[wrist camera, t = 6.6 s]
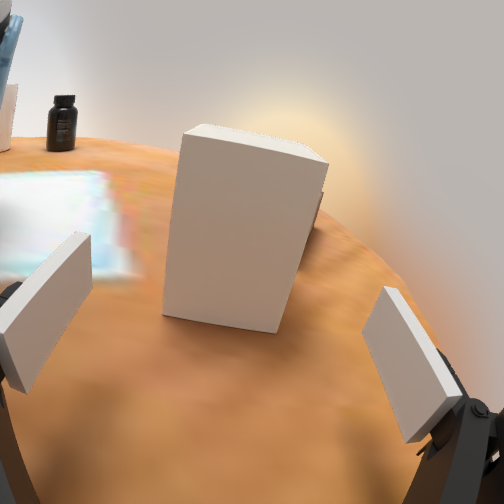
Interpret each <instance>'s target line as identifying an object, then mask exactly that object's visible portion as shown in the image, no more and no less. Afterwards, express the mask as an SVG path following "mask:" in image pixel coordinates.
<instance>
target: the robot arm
mask: <svg viewBox="0 0 504 504" xmlns="http://www.w3.org/2000/svg"><path fill="white" fill-rule="evenodd" d="M11 6H12V0H0V109H1V106H2V102H3V97H4V93H5V88H6V83H7V79H8V75H9V71H10V67H11V63H12V59H13V55H14V51H15V48H16V44H17V41H18V37H19V34H20V30H21V27H22V23H23V17H21V16H17V15H15V14H13V15H11V16H10V11H11ZM92 288H93V285H92V268H91V235H90V234H86V233H81V232H76V231H75V232H74V233H73V234H72V235H71V236H70V237H69V238H68V239H67V240H66V241H65V242H64V243H63V244H61V245H60V246H59V247H58V248H57V249H56V250H55V251H54V252H53V253H52V254H51V255H50V256H49V257H48V258H47V259H46V260H45V261H44V262H43V263H42V264H41V265H40V266H39V267H38V268H37V269H36V270H35V271H34V272H33V273H32V274H31V275H30V276H29V277H28V278H27V279H26V280H25V282H24V283H22V282H16V283H14V284H12V285H10V286H9V287H7V288H6V289H5V290H4V291H3V292H2V293H1V294H0V504H40V502H39V499H38V497H37V495H36V493H35V490H34V488H33V485H32V483H31V481H30V478H29V475H28V473H27V470H26V467H25V465H24V462H23V459H22V456H21V453H20V450H19V447H18V444H17V441H16V438H15V434H14V431H13V427H12V424H11V420H10V416H9V412H8V408H7V404H6V400H5V395H4V391H3V388H2V385H1V382H2V380H3V379H4V377H6V379H7V381H8V384H9V386H10V387H11V388H13V389H15V390H18V391H20V392H22V393H24V394H27V395H28V393H29V391H30V389H31V387H32V385H33V383H34V382H35V380H36V378H37V376H38V374H39V373H40V371H41V369H42V367H43V366H44V364H45V362H46V361H47V359H48V357H49V355H50V354H51V352H52V350H53V349H54V347H55V345H56V344H57V342H58V340H59V339H60V337H61V336H62V334H63V332H64V331H65V329H66V328H67V326H68V324H69V323H70V321H71V320H72V318H73V317H74V315H75V314H76V312H77V311H78V309H79V307H80V306H81V304H82V303H83V301H84V300H85V299H86V297H87V296H88V294H89V293H90V291H91V290H92ZM362 334H363V337H364V339H365V341H366V344H367V346H368V349H369V351H370V353H371V356H372V358H373V361H374V363H375V366H376V368H377V370H378V373H379V375H380V378H381V380H382V383H383V385H384V388H385V391H386V393H387V396H388V398H389V401H390V404H391V406H392V409H393V411H394V414H395V417H396V420H397V422H398V425H399V428H400V430H401V433H402V436H403V439H404V442H405V444H406V443H413V442H420V441H421V440H422V439H423V438H424V437H425V436H426V435H427V434H428V433H429V432H430V434H431V436H432V439H431V440H430V441H429V442H428V443H427V444H426V445H425V446H424V447H423V448H422V449H421V450H420V451H419V452H418V453H417V454H416V455H417V456H419V455H420V454H421V453H422V452H424V451H425V452H424V454H423V456H422V457H421V458H422V459H421V462H420V464H419V467H418V469H417V472H416V474H415V477H414V479H413V481H412V484H411V486H410V488H409V490H408V492H407V495H406V497H405V499H404V501H403V503H402V504H504V408H503V410H502V411H501V412H500V413H499V414H497V413H492V412H490V411H489V409H488V407H487V406H486V405H485V404H484V403H483V402H482V401H480V400H478V399H475V398H469V396H468V394H467V393H466V391H465V389H464V387H463V385H462V384H461V382H460V380H459V378H458V377H457V375H456V374H455V371H454V370H453V368H452V367H451V365H450V363H449V362H448V360H447V358H446V357H445V356H444V355H443V354H442V353H441V352H440V351H439V350H438V349H437V348H435V346H434V345H433V343H432V342H431V340H430V338H429V337H428V335H427V334H426V332H425V330H424V329H423V327H422V326H421V324H420V323H419V321H418V319H417V318H416V316H415V315H414V313H413V312H412V310H411V309H410V307H409V306H408V304H407V303H406V301H405V300H404V298H403V297H402V295H401V294H400V292H399V291H398V289H397V288H391V287H385V286H383V289H382V291H381V293H380V295H379V297H378V300H377V302H376V304H375V306H374V308H373V310H372V312H371V314H370V316H369V318H368V320H367V322H366V324H365V327H364V329H363V330H362ZM498 451H499V455H500V457H499V458H497V459H496V460H495V461H494V462H493V460H492V456H493V455H494V454H496V453H497V452H498Z"/></svg>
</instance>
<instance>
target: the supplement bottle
mask: <svg viewBox="0 0 504 504" xmlns="http://www.w3.org/2000/svg"><path fill="white" fill-rule="evenodd" d="M74 103H75V95H56V96H55V97H54V104H55V105H54V107H53V108H51V109H50V111H49V114H48V125H47V141H46V148H47V150H48V151H68V150H72V149H73V148H74V147H75V138H76V125H77V114H78V111H77V108H75V107H74V106H73V104H74Z"/></svg>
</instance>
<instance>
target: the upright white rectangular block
mask: <svg viewBox="0 0 504 504" xmlns="http://www.w3.org/2000/svg"><path fill="white" fill-rule="evenodd" d="M328 166H329V163H328V162H326V161H325V160H324V159H322V158H321V157H320V156H319V155H317V154H316V153H315V152H314V151H312V150H311V149H310V148H308V147H307V146H306V145H304V144H302V143H298V142H293V141H289V140H285V139H280V138H276V137H272V136H267V135H262V134H258V133H253V132H248V131H243V130H238V129H232V128H227V127H221V126H216V125H210V124H204V123H203V124H201V125H199V126H197V127H195V128H193V129H191V130H189V131H188V132H185V133H183V138H182V144H181V150H180V156H179V162H178V169H177V176H176V183H175V190H174V197H173V205H172V213H171V221H170V230H169V239H168V249H167V259H166V270H165V282H164V295H163V310H162V315H167V316H172V317H177V318H183V319H188V320H193V321H199V322H204V323H210V324H216V325H222V326H228V327H234V328H241V329H247V330H254V331H261V332H268V333H275V334H276V333H277V330H278V327H279V324H280V322H281V319H282V316H283V313H284V310H285V307H286V304H287V301H288V298H289V295H290V292H291V289H292V286H293V282H294V279H295V276H296V273H297V270H298V267H299V264H300V261H301V257H302V254H303V251H304V248H305V245H306V241H307V238H308V235H309V232H310V228H311V225H312V222H313V218H314V215H315V212H316V208H317V205H318V201H319V198H320V194H321V191H322V187H323V184H324V181H325V177H326V173H327V170H328Z"/></svg>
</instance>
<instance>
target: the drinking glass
mask: <svg viewBox="0 0 504 504" xmlns="http://www.w3.org/2000/svg"><path fill="white" fill-rule="evenodd" d="M17 90H18V84H6V88H5V93H4V97H3V102H2V106H1V109H0V152H3V151H6V150H9V149H10V147H11V134H12V125H13V119H14V112H15V106H16V99H17Z"/></svg>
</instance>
